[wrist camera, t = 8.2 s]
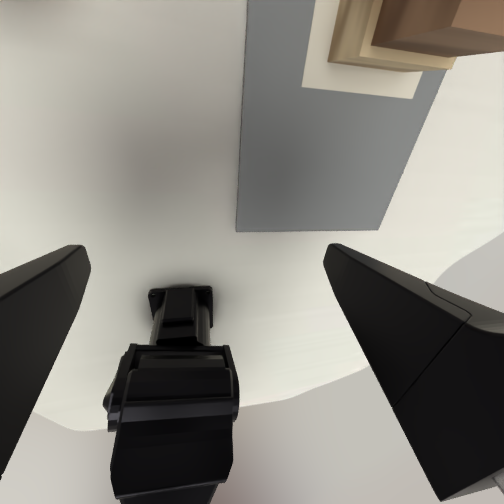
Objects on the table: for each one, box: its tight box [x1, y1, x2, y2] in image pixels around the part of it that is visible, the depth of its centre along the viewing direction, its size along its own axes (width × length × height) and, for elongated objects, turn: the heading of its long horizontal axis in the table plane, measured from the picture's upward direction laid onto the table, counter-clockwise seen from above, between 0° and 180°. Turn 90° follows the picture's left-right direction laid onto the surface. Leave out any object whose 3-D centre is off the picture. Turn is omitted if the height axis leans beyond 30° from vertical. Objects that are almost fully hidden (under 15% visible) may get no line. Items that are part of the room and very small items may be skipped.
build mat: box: [236, 0, 447, 232], centre depth 18 cm, size 22×15×1 cm
